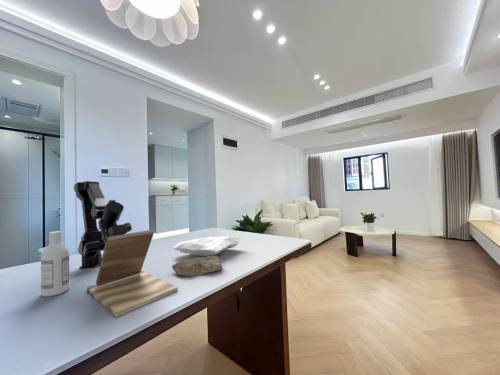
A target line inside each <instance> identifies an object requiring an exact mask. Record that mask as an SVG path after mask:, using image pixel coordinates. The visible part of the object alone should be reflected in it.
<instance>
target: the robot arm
mask: <svg viewBox="0 0 500 375" xmlns="http://www.w3.org/2000/svg"><path fill="white" fill-rule="evenodd" d="M73 191H74V192H75V196H76V198H78V199H79V200H80V202H81V209H82V216H83V217H82V219H83V226H84V228H83V229H84V232H83V234H82V236H81V238H80V242H79V244H78V248H77V252H78V254H79V255H81V265H80V266H79V269H90V268H96V267H99V266H100V264H101V260H102V256H103V253H101V252H104V248H105V244H106V240H107V237H110V236H117V235H123V234H128V232H129V233H131V231H132V229H133V228H132V224H131V223H130V222H124V224H118V223H117V222H118V221H120V218H121V216H122V215H123V214H122V213H123V211H124V209H125V207H124V205H123V204H122V203H120V202H118V201H116V200H115V199H109V200H108V199H106V198H105V195H104V193H103V191H102V189H101V187H100V182H99V180H85V181H77V182H76V183H75V184H74V185H73ZM97 220H99V221H98V225H97Z"/></svg>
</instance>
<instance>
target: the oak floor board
mask: <svg viewBox="0 0 500 375" xmlns="http://www.w3.org/2000/svg"><path fill="white" fill-rule="evenodd" d="M86 292H88V293H89V294H90V295H91V296H92V297H93V298H94V299H95V300H97V301H98V302H99V303H100V304H101V305H103V307H104V308H106V310H108V311H109V312H110V313H111V314H113V316H114V317H116V318H118V317H120V316H123V315H124V314H127V313H130V312H132V311H134V310H136V309H138V308H141V307H143V306H145V305H147V304H150V303H152V302H155V301H157V300H159V299H162V298H164V297H167V296H168V295H171V294H173V293H176V292H178V286H177V285H173V284H172V283H170V282H167V281H165V280H163V279H161V278H159V277H157V276H154V275H152V274H150V273H148V272H146V271H144V270H141V272H140V273H139V274H136V275H133V276H129V277H126V278H123V279H120V280H117V281H113V282H110V283H107V284H104V285H100V286H97V285H96V284H93V285H90V286H87V287H86Z"/></svg>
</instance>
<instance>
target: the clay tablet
mask: <svg viewBox="0 0 500 375" xmlns="http://www.w3.org/2000/svg"><path fill="white" fill-rule="evenodd" d="M171 268H172V270H173V271H174V272H175V274H176V275H177V276H183V277H195V276H197V277H198V276H201V275H206V274H209V273H211V274H212V273H216V272H219V271H221V270H222V268H223V267H222V260H221V259H220V257H219V256H217V255H216V256H215V255H211V256H200V257H193V258H189V259H182V260H180V261H177V262H175V263H174V264H172V265H171Z"/></svg>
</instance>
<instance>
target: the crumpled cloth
mask: <svg viewBox="0 0 500 375" xmlns="http://www.w3.org/2000/svg"><path fill="white" fill-rule="evenodd" d="M240 241H241V238H240V237H236V236H207V237H200V238H195V239H191V240H186V241H185V240H184V241H181V242H179V243H178V244H175V245H174V246H173V247H172V248H173V250H174V251H179V252H180V253H183V254H188V255H190V256H200V257H207V256H215V255H217V254H219V253H221V252H223V251H225V250H229V249H232V248H235V247H236V246H238V245H239V243H240Z"/></svg>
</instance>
